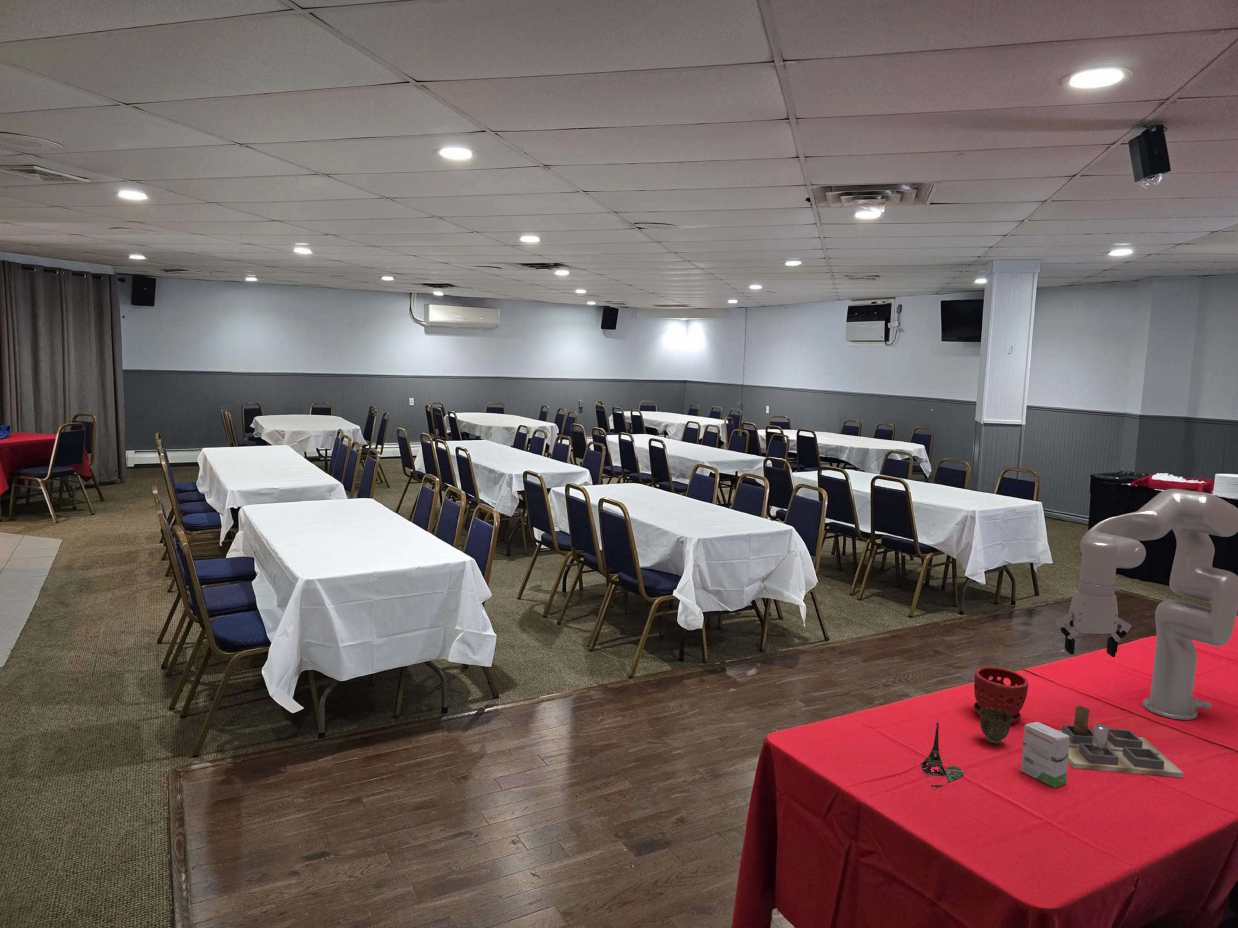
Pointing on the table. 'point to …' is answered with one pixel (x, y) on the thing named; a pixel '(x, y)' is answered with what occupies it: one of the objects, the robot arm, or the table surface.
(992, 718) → the cup
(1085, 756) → the board
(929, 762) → the eiffel tower figurine
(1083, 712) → the walnut pin
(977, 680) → the plant pot
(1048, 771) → the ink box
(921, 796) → the table surface
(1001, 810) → the table surface
